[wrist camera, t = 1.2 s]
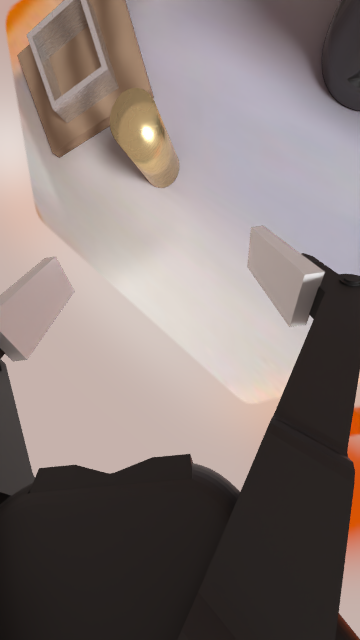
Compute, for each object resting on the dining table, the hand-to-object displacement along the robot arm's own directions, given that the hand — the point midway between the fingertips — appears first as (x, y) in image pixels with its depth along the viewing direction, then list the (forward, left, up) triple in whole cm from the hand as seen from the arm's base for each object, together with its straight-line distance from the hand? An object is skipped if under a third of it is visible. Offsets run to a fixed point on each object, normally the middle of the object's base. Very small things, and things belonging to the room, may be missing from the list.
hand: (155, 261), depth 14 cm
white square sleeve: (+9, -36, -22) cm, 43 cm away
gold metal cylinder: (+1, -18, -23) cm, 30 cm away
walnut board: (+9, -36, -23) cm, 44 cm away
